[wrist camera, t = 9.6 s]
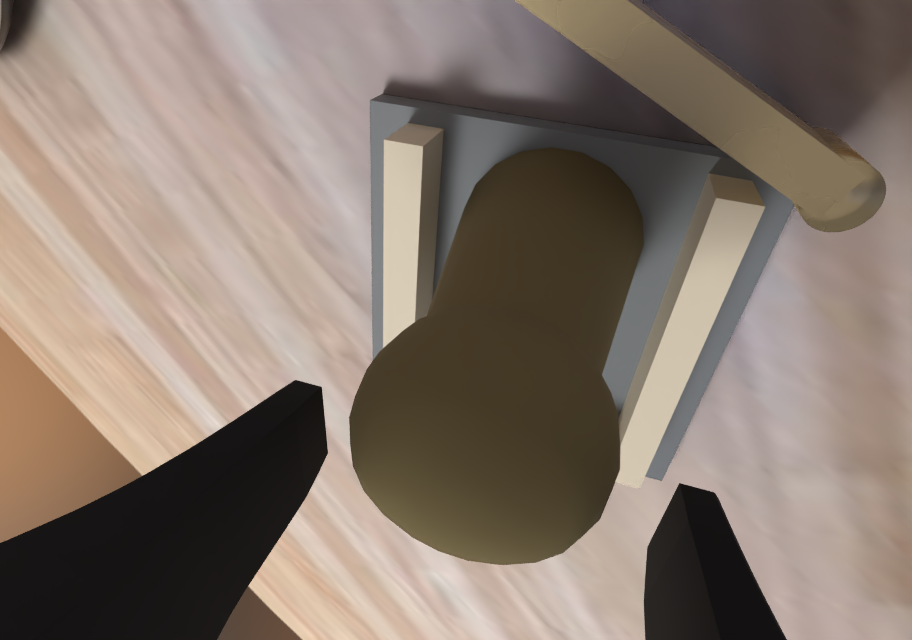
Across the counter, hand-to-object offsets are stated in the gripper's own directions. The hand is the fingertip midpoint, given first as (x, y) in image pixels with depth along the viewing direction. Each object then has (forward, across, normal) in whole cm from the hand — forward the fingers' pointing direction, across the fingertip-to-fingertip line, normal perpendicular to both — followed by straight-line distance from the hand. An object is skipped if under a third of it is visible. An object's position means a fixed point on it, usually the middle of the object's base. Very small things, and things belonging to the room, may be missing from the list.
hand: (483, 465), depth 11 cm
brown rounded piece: (+10, 0, -1) cm, 10 cm away
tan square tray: (+10, 0, +2) cm, 11 cm away
